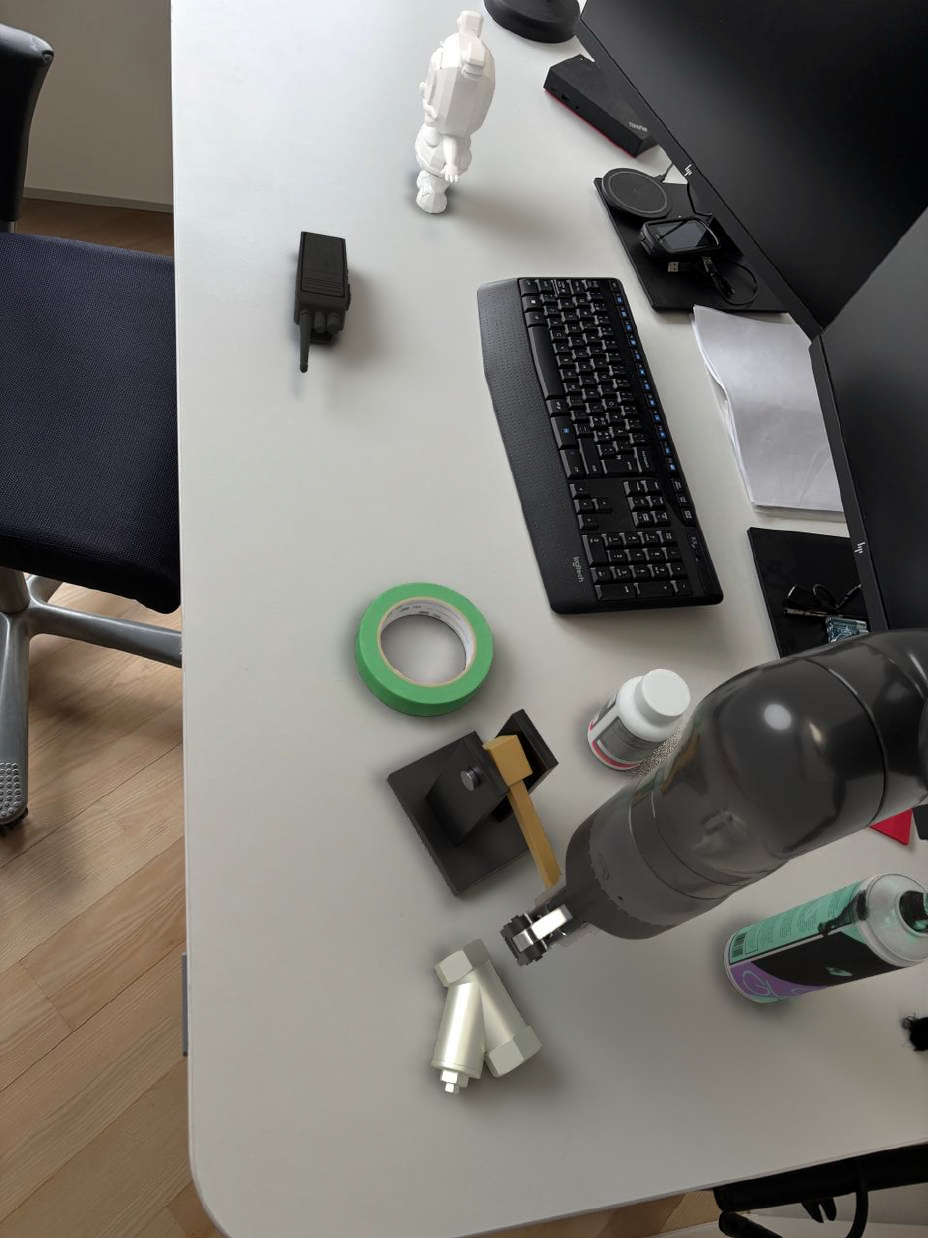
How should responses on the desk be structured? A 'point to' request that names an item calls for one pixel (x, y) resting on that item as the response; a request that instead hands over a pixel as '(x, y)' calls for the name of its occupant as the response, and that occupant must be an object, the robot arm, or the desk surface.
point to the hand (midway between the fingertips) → (554, 919)
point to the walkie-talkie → (320, 290)
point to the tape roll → (409, 692)
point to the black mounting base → (470, 803)
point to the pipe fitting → (478, 1021)
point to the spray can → (832, 940)
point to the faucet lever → (523, 803)
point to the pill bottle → (639, 718)
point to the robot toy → (453, 109)
